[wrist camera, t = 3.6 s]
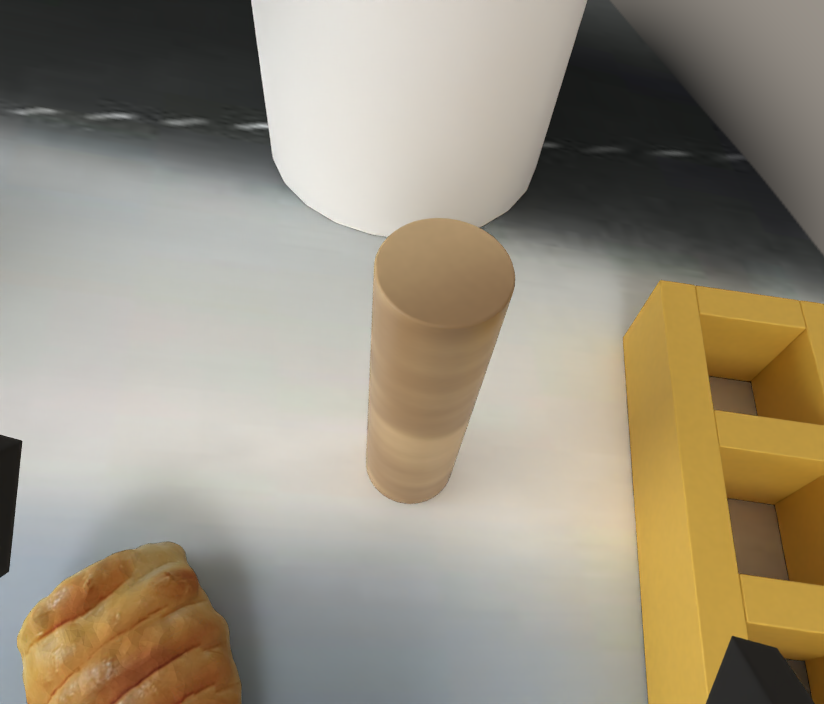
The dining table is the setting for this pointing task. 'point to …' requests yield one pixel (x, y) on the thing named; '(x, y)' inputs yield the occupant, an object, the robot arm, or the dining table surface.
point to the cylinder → (411, 103)
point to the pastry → (129, 636)
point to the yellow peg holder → (725, 480)
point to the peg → (430, 349)
